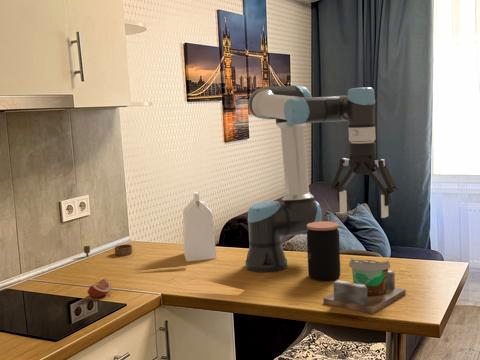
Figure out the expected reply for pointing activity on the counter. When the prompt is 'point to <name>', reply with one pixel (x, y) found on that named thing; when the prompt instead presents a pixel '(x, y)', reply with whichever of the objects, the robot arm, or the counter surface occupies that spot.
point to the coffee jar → (323, 251)
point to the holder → (363, 296)
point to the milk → (198, 231)
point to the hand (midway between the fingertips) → (363, 215)
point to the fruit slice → (100, 288)
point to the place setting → (119, 250)
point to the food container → (370, 275)
